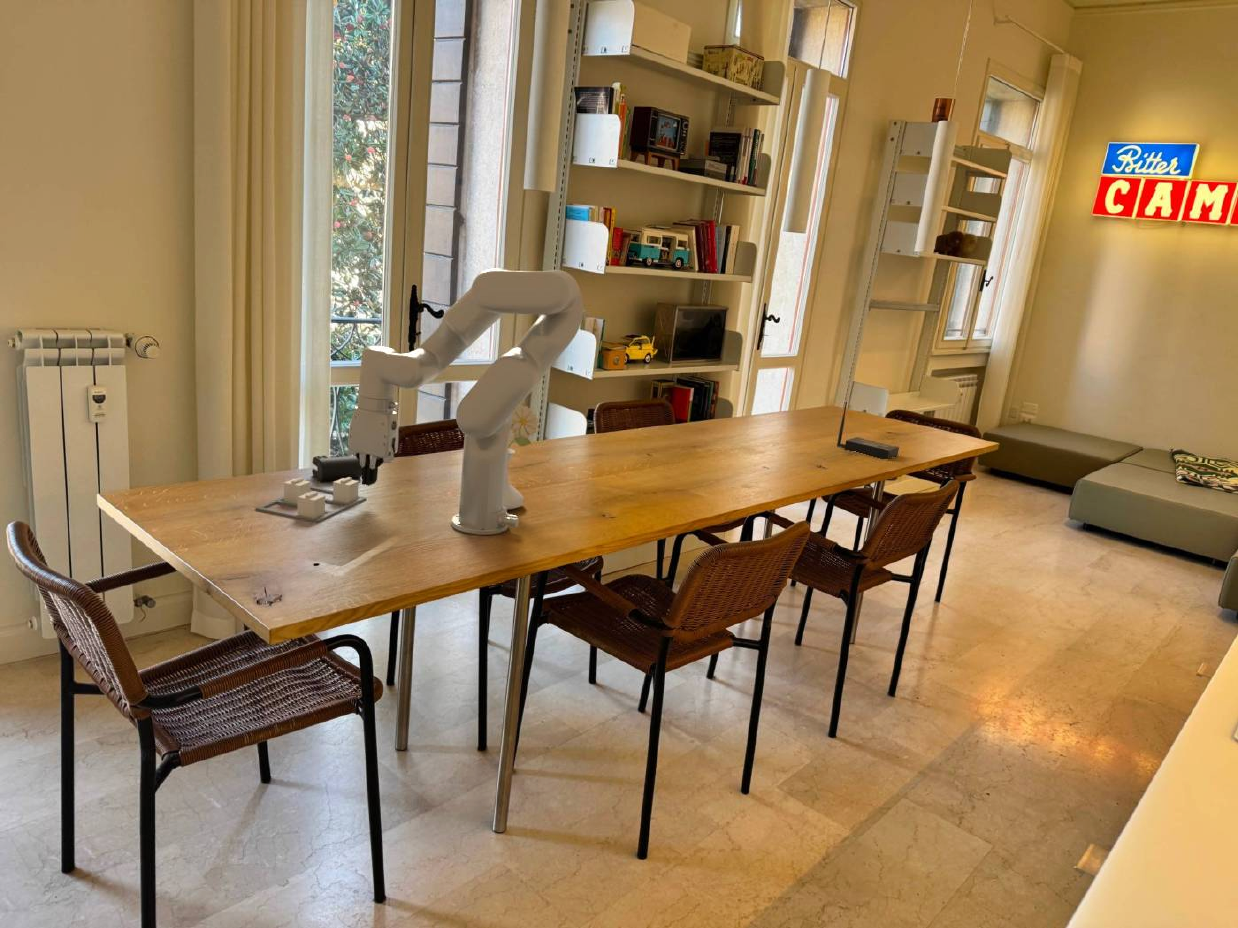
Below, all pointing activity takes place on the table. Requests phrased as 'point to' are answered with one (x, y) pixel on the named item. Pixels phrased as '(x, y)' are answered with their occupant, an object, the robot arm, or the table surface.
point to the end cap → (336, 468)
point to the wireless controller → (867, 445)
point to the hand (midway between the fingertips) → (368, 483)
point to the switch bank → (317, 520)
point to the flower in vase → (521, 426)
